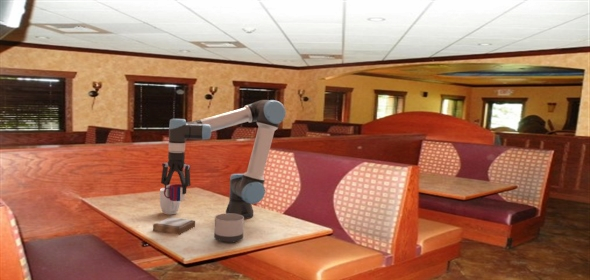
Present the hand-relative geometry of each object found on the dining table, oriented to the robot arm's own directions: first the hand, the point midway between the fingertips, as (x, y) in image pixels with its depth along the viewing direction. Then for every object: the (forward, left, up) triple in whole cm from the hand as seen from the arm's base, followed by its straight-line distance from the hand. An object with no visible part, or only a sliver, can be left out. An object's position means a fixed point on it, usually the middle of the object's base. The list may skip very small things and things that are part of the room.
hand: (175, 199), depth 201 cm
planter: (-30, +4, -14) cm, 34 cm away
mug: (+16, -23, -14) cm, 31 cm away
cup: (+1, 0, -1) cm, 1 cm away
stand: (0, 0, -14) cm, 14 cm away
